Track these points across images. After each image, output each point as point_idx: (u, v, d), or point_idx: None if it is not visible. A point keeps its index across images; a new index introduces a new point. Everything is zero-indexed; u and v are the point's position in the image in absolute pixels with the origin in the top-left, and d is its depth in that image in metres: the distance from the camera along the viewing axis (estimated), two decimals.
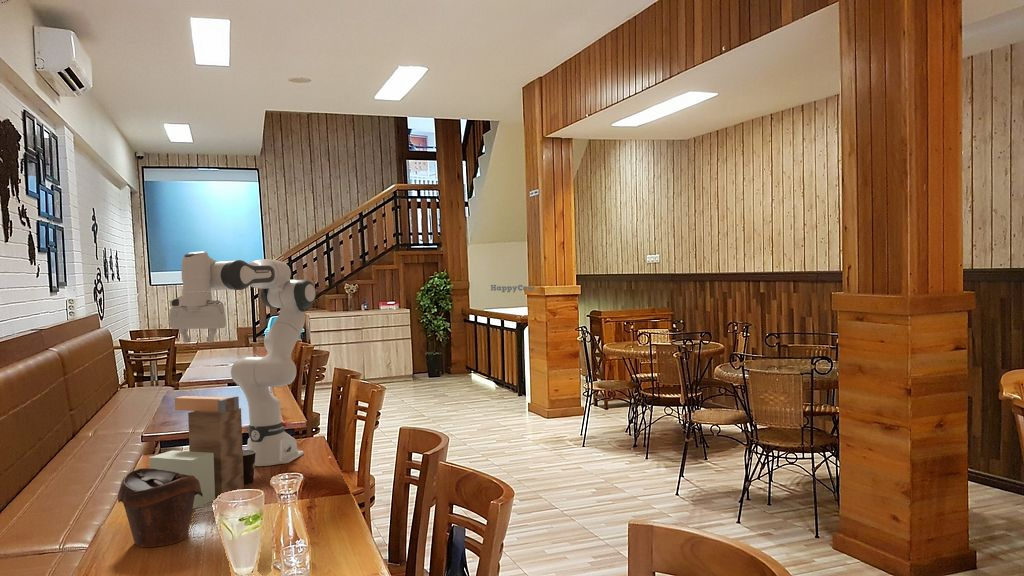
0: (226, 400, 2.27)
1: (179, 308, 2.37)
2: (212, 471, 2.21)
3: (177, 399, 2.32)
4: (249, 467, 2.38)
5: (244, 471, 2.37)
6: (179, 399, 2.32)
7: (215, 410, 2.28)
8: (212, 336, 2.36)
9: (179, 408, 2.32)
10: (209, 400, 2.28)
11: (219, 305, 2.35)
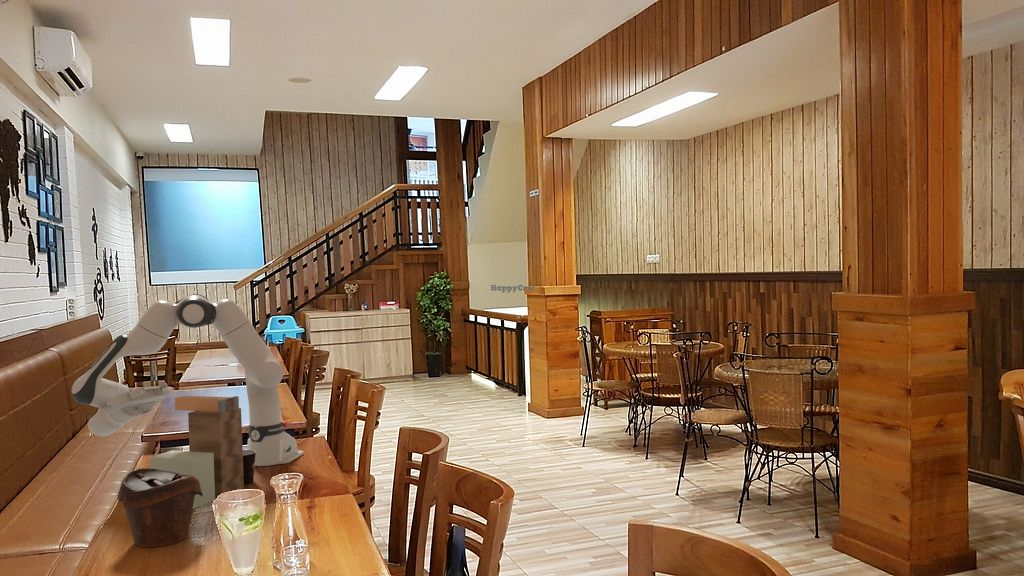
0: (226, 400, 2.27)
1: (146, 408, 2.45)
2: (212, 471, 2.21)
3: (177, 399, 2.32)
4: (249, 467, 2.38)
5: (244, 471, 2.37)
6: (179, 399, 2.32)
7: (215, 410, 2.28)
8: (136, 392, 2.33)
9: (179, 408, 2.32)
10: (209, 400, 2.28)
11: (107, 410, 2.33)
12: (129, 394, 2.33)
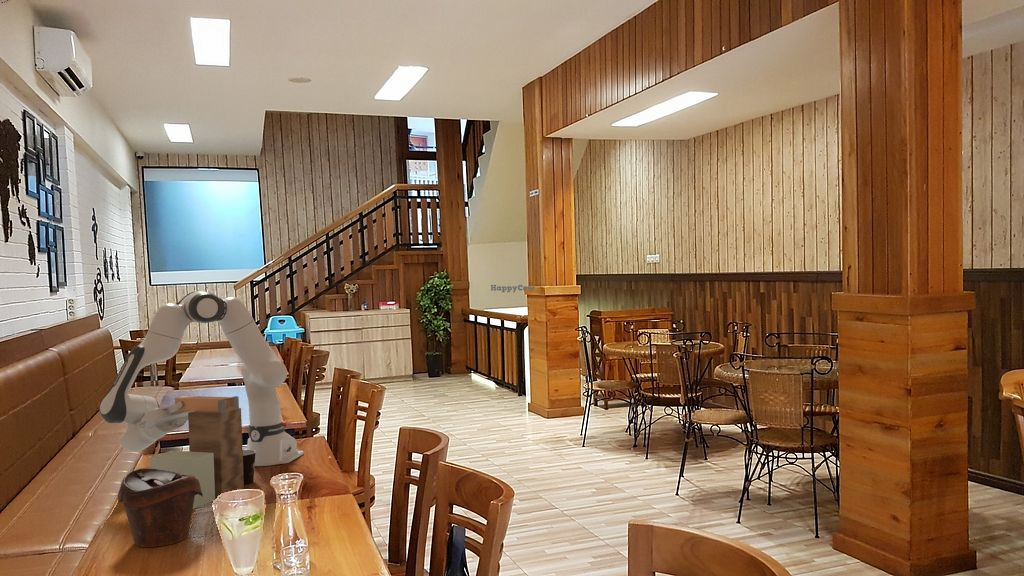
0: (226, 400, 2.27)
1: (179, 423, 2.41)
2: (212, 471, 2.21)
3: (177, 399, 2.32)
4: (249, 467, 2.38)
5: (244, 471, 2.37)
6: (179, 399, 2.32)
7: (215, 410, 2.28)
8: (176, 406, 2.31)
9: None
10: (209, 400, 2.28)
11: (141, 426, 2.28)
12: (169, 408, 2.30)
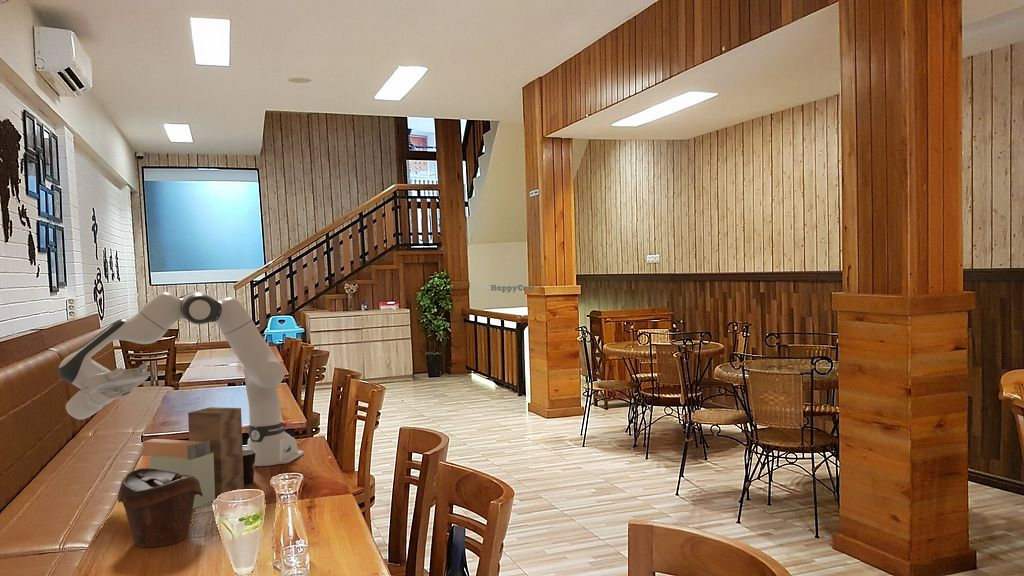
0: (196, 445, 2.16)
1: (126, 390, 2.38)
2: (212, 471, 2.21)
3: (145, 443, 2.22)
4: (249, 467, 2.38)
5: (244, 471, 2.37)
6: (147, 443, 2.21)
7: (185, 455, 2.17)
8: (114, 373, 2.25)
9: (148, 453, 2.21)
10: (178, 445, 2.17)
11: (84, 391, 2.25)
12: (107, 375, 2.25)
